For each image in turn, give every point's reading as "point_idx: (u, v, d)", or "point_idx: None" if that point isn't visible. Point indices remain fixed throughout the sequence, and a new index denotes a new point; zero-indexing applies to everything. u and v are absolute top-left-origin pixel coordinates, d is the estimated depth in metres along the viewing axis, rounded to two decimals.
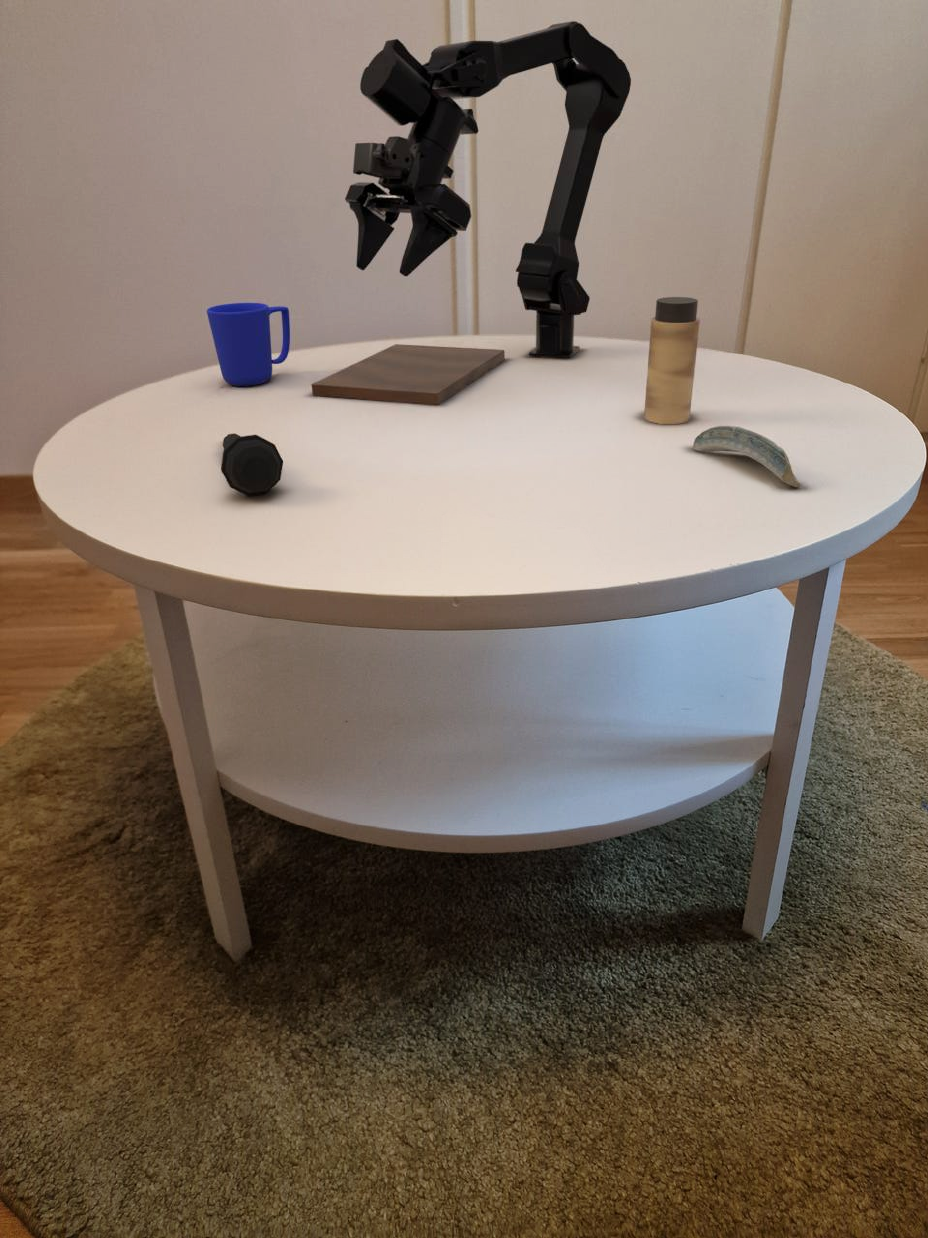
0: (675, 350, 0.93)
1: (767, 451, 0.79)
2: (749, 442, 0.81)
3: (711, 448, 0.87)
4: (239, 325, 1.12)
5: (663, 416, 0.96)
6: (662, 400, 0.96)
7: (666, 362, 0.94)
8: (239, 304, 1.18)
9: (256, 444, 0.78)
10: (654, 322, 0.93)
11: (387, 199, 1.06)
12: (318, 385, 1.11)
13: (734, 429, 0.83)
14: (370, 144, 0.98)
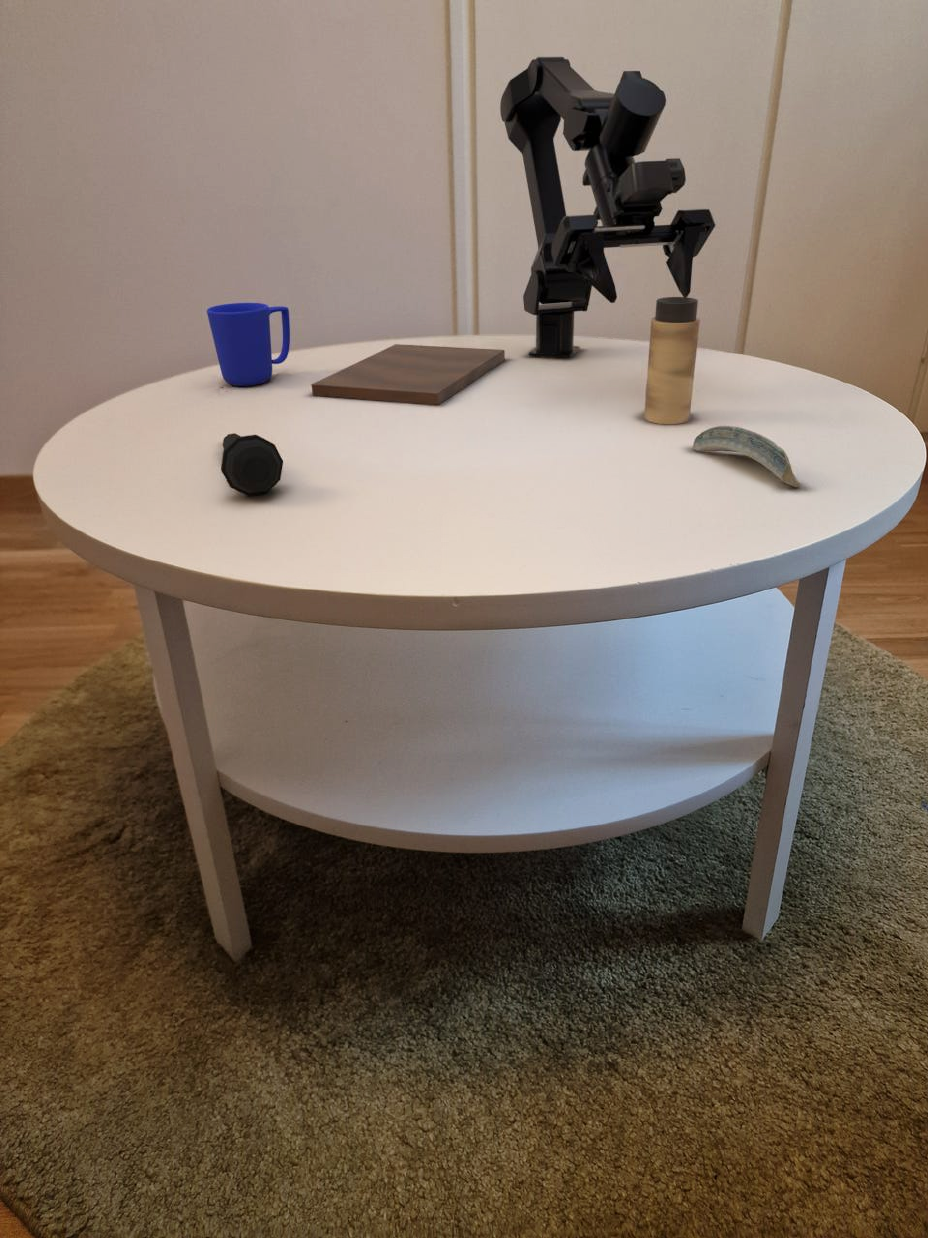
0: (675, 350, 0.93)
1: (767, 451, 0.79)
2: (749, 442, 0.81)
3: (711, 448, 0.87)
4: (239, 325, 1.12)
5: (663, 416, 0.96)
6: (662, 400, 0.96)
7: (666, 362, 0.94)
8: (239, 304, 1.18)
9: (256, 444, 0.78)
10: (654, 322, 0.93)
11: (615, 230, 0.99)
12: (318, 385, 1.11)
13: (734, 429, 0.83)
14: (664, 161, 0.93)
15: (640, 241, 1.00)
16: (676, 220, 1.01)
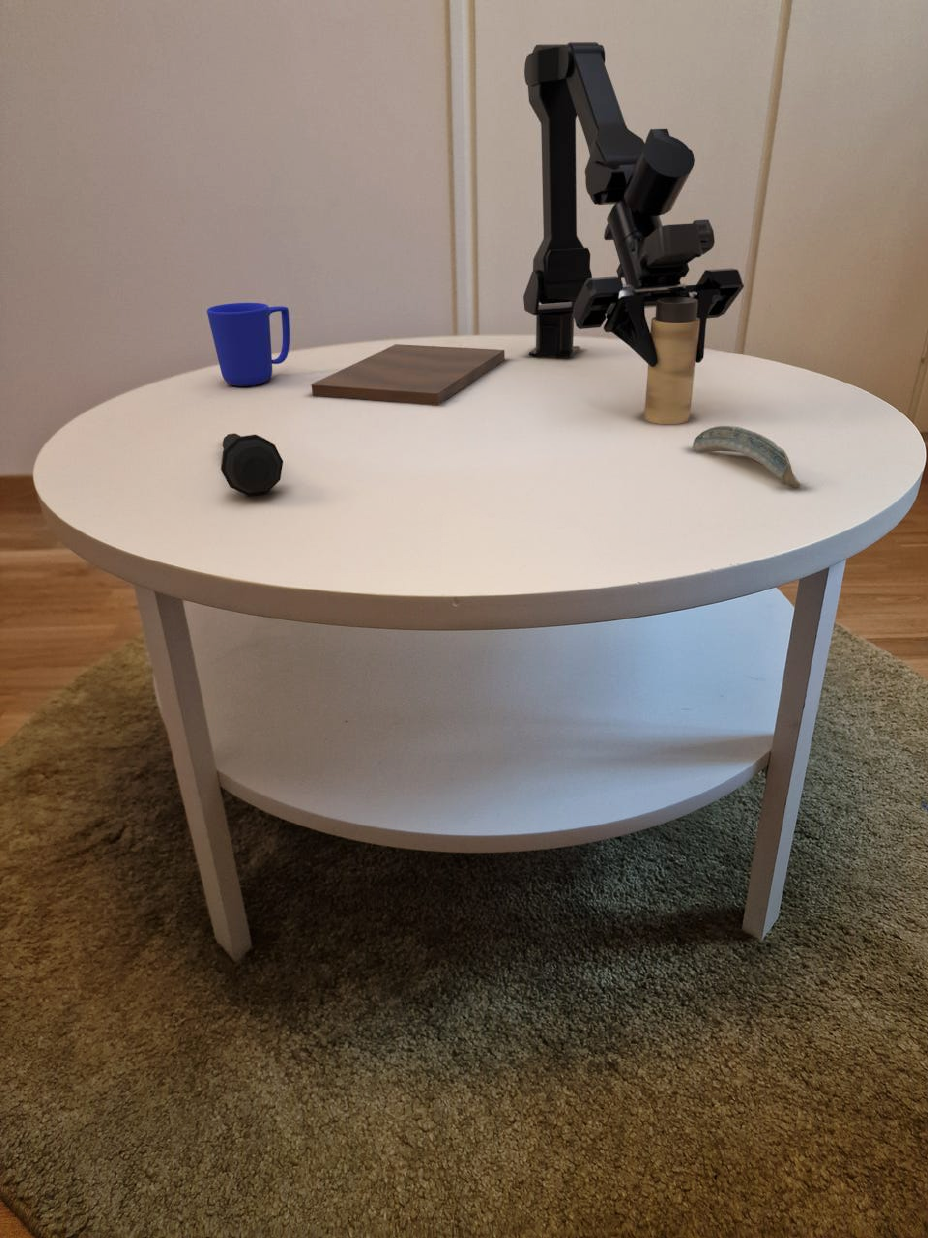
0: (675, 350, 0.93)
1: (767, 451, 0.79)
2: (749, 442, 0.81)
3: (711, 448, 0.87)
4: (239, 325, 1.12)
5: (663, 416, 0.96)
6: (662, 400, 0.96)
7: (666, 362, 0.94)
8: (239, 304, 1.18)
9: (256, 444, 0.78)
10: (654, 322, 0.93)
11: (656, 291, 0.95)
12: (318, 385, 1.11)
13: (734, 429, 0.83)
14: (693, 224, 0.90)
15: (651, 303, 0.96)
16: (703, 280, 0.97)
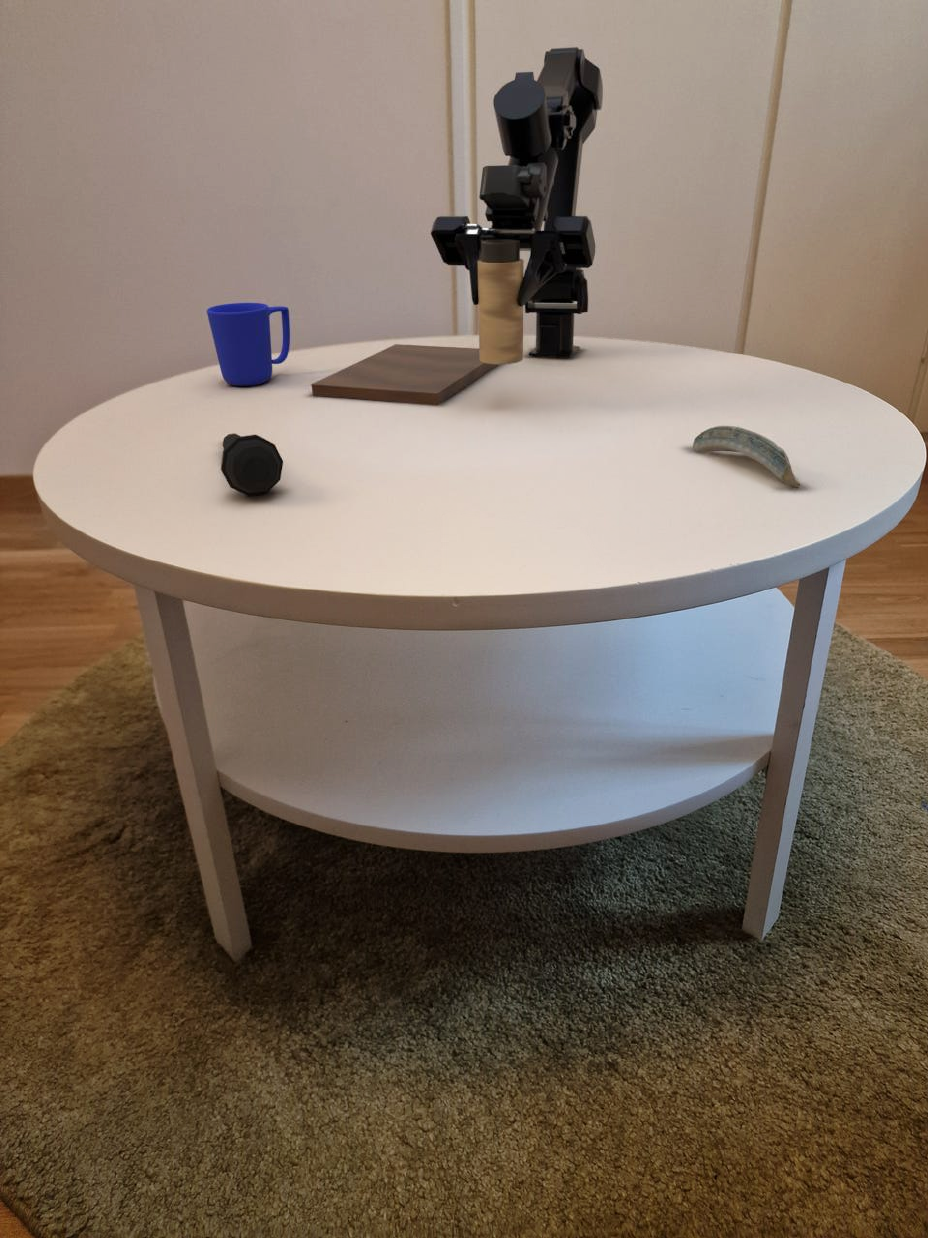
0: (485, 289, 0.96)
1: (767, 451, 0.79)
2: (749, 442, 0.81)
3: (711, 448, 0.87)
4: (239, 325, 1.12)
5: (483, 355, 1.00)
6: (481, 338, 1.00)
7: (481, 301, 0.97)
8: (239, 304, 1.18)
9: (256, 444, 0.78)
10: None
11: (505, 233, 0.99)
12: (318, 385, 1.11)
13: (734, 429, 0.83)
14: (512, 166, 0.92)
15: None
16: None
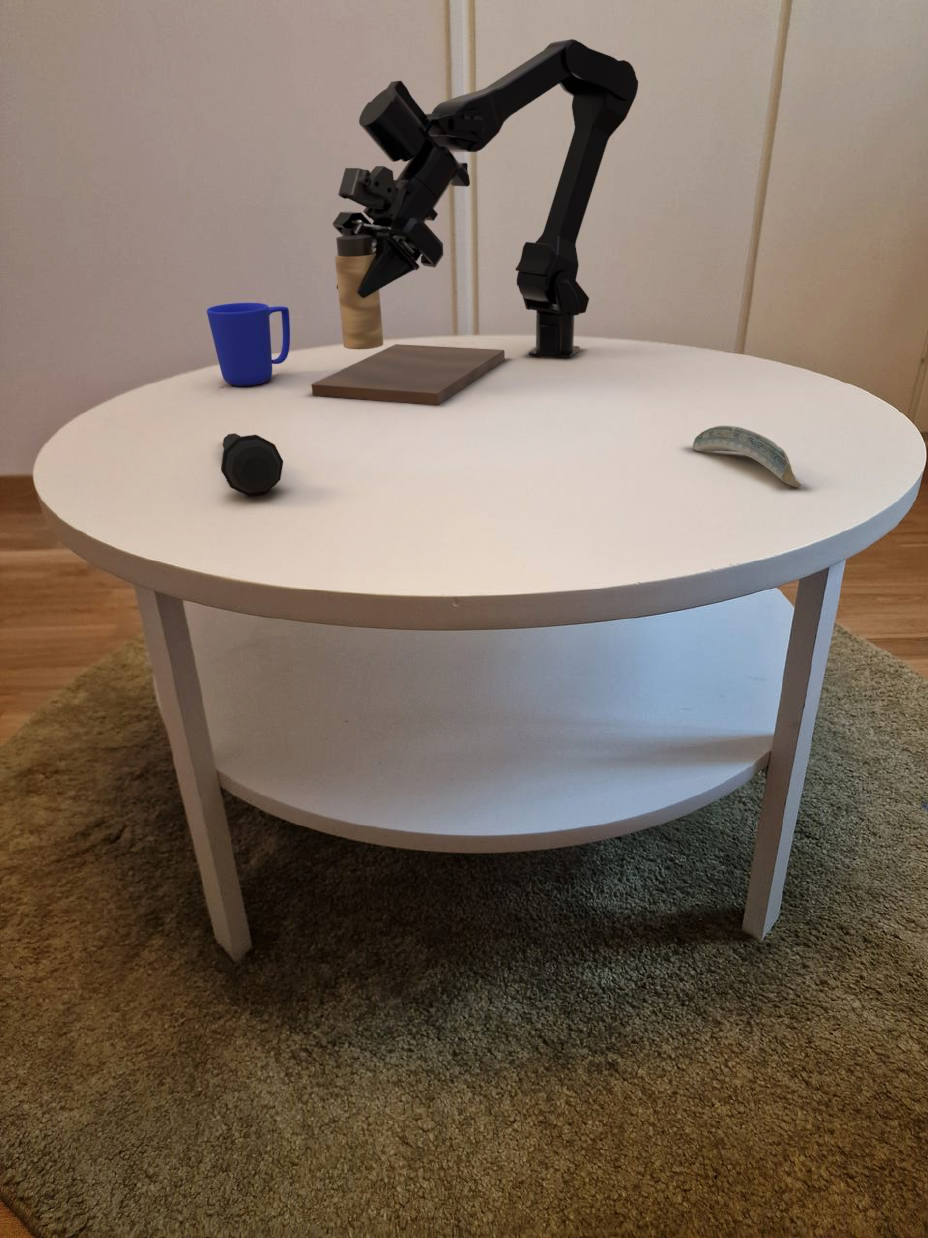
0: (337, 279, 1.07)
1: (767, 451, 0.79)
2: (749, 442, 0.81)
3: (711, 448, 0.87)
4: (239, 325, 1.12)
5: None
6: None
7: None
8: (239, 304, 1.18)
9: (256, 444, 0.78)
10: None
11: (377, 229, 1.07)
12: (318, 385, 1.11)
13: (734, 429, 0.83)
14: (356, 169, 1.01)
15: None
16: None
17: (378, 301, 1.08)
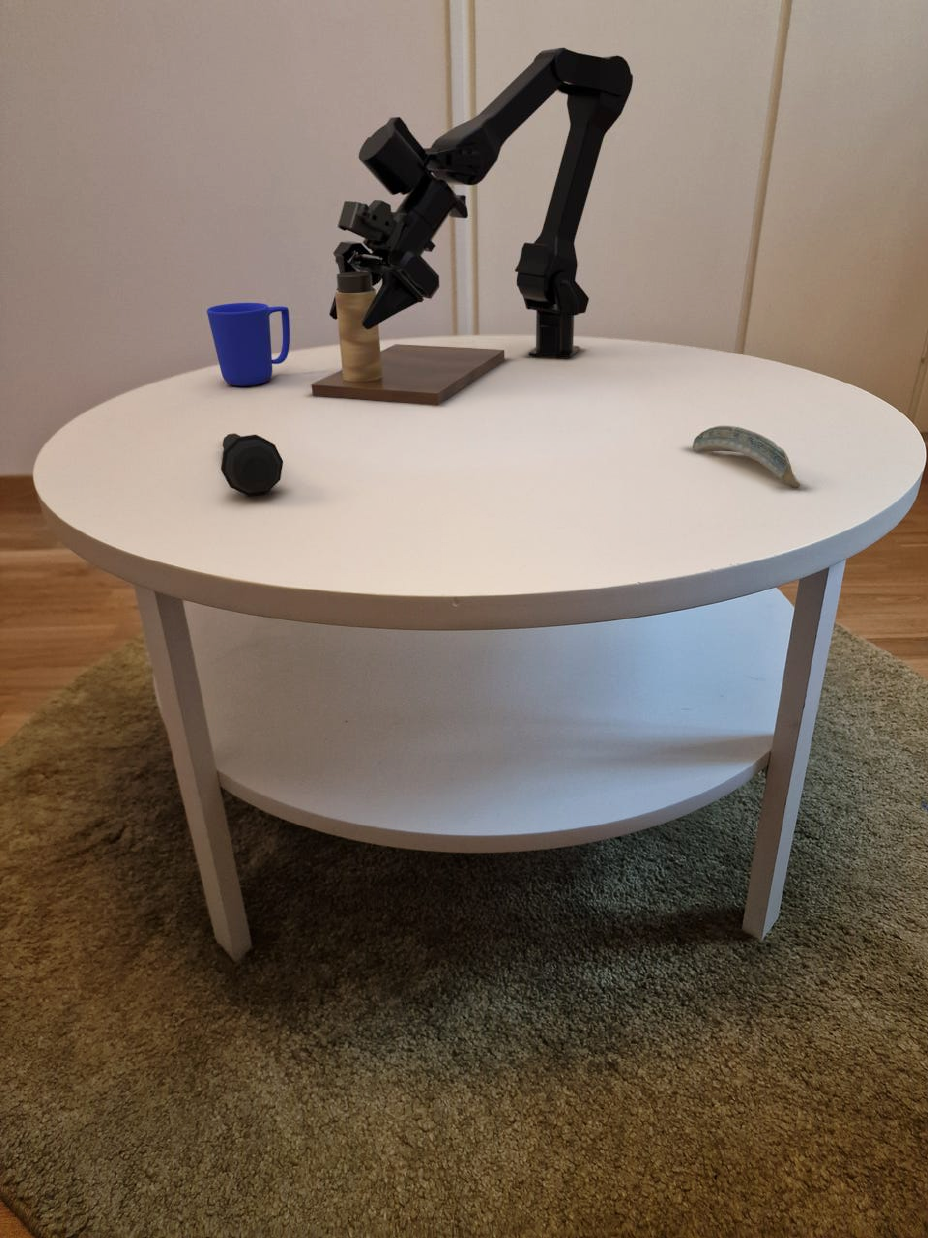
0: (337, 314, 1.10)
1: (767, 451, 0.79)
2: (749, 442, 0.81)
3: (711, 448, 0.87)
4: (239, 325, 1.12)
5: None
6: None
7: None
8: (239, 304, 1.18)
9: (256, 444, 0.78)
10: None
11: (369, 259, 1.11)
12: (318, 385, 1.11)
13: (734, 429, 0.83)
14: (355, 202, 1.03)
15: None
16: None
17: (377, 335, 1.11)
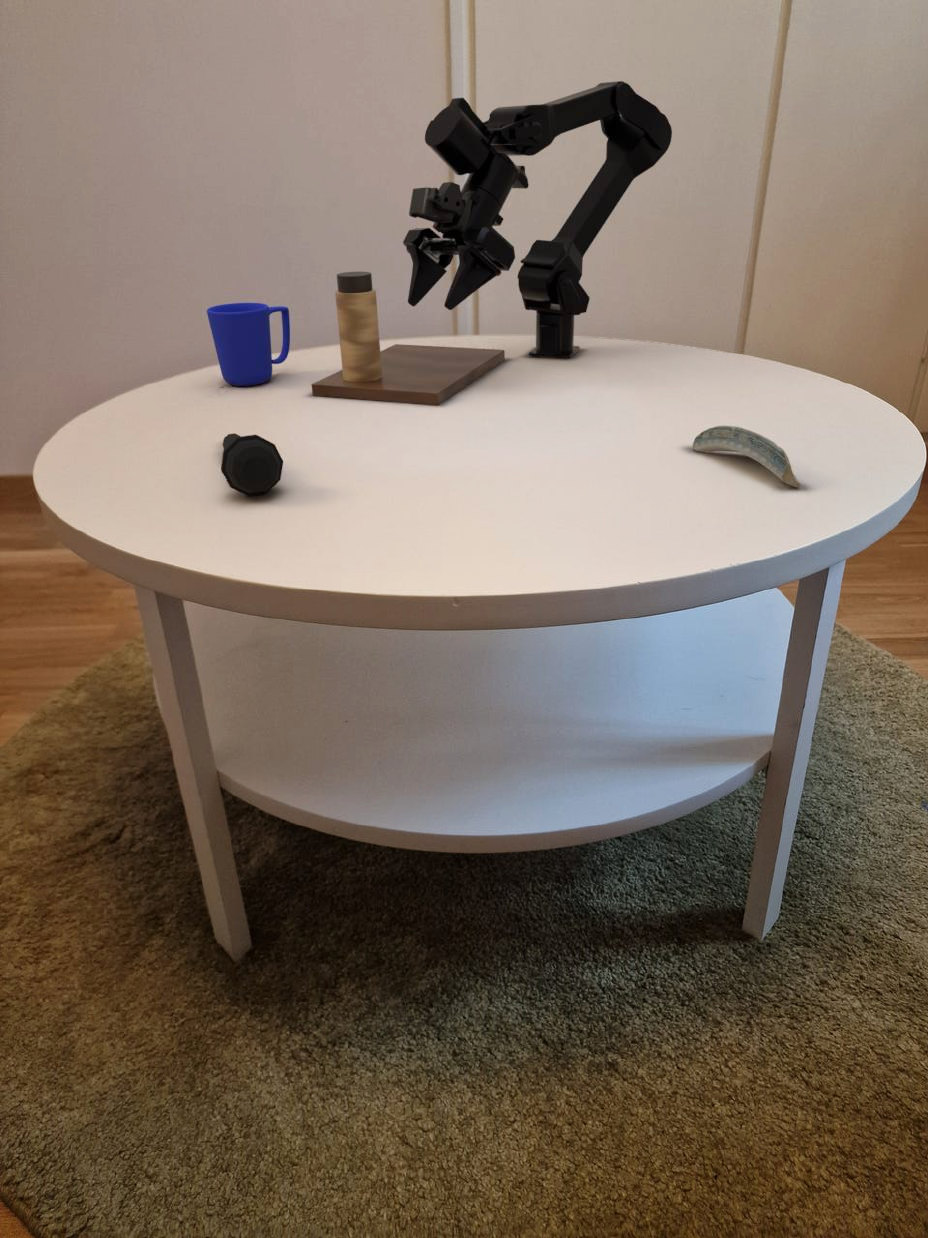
0: (337, 314, 1.10)
1: (767, 451, 0.79)
2: (749, 442, 0.81)
3: (711, 448, 0.87)
4: (239, 325, 1.12)
5: None
6: None
7: None
8: (239, 304, 1.18)
9: (256, 444, 0.78)
10: None
11: (440, 242, 1.14)
12: (318, 385, 1.11)
13: (734, 429, 0.83)
14: (425, 188, 1.06)
15: (458, 252, 1.12)
16: None
17: (377, 335, 1.11)
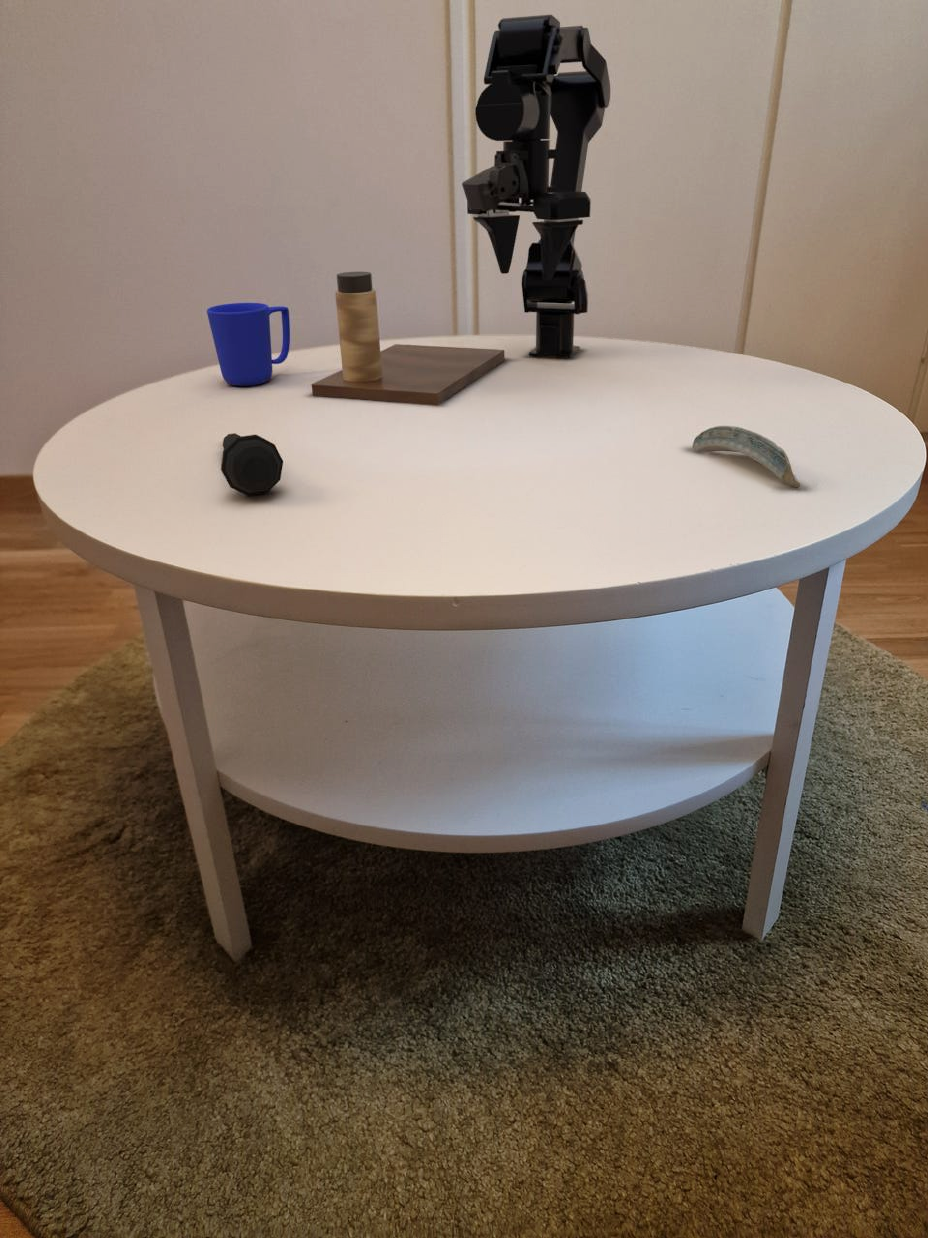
0: (337, 314, 1.10)
1: (767, 451, 0.79)
2: (749, 442, 0.81)
3: (711, 448, 0.87)
4: (239, 325, 1.12)
5: None
6: None
7: None
8: (239, 304, 1.18)
9: (256, 444, 0.78)
10: None
11: None
12: (318, 385, 1.11)
13: (734, 429, 0.83)
14: (476, 186, 1.02)
15: None
16: None
17: (377, 335, 1.11)
